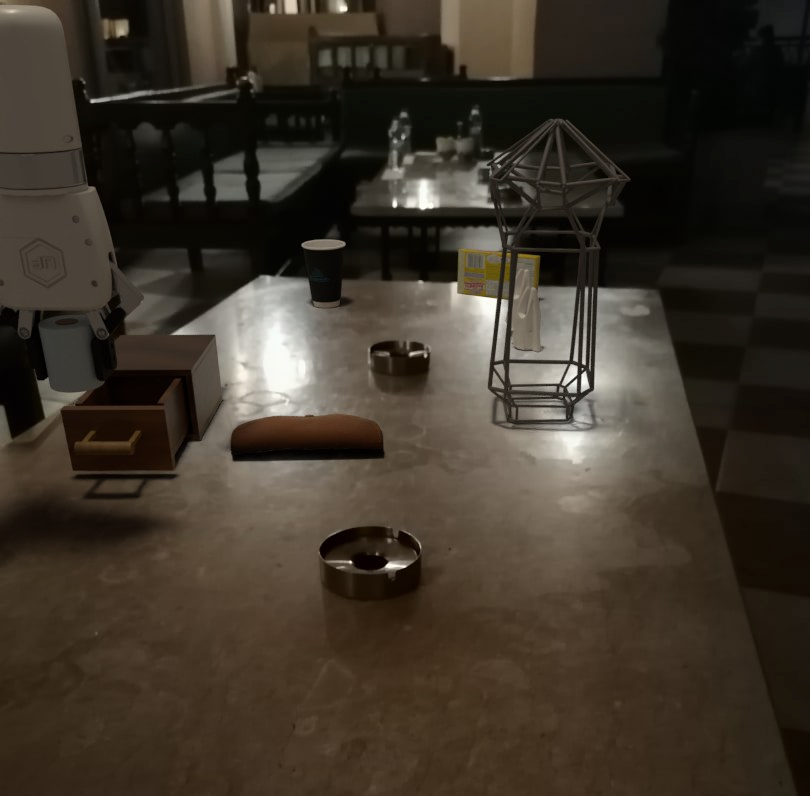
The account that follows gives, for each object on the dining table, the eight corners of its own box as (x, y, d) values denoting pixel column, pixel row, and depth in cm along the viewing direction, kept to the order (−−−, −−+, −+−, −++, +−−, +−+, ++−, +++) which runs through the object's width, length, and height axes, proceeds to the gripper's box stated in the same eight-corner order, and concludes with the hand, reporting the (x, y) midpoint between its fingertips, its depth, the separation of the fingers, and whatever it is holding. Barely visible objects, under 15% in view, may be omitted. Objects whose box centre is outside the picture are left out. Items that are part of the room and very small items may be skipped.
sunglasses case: (383, 426, 114) (382, 391, 108) (384, 472, 110) (384, 439, 104) (239, 429, 113) (230, 395, 107) (236, 476, 110) (227, 443, 104)
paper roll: (42, 392, 85) (29, 328, 82) (60, 375, 89) (49, 313, 86) (95, 393, 84) (84, 329, 82) (111, 375, 89) (101, 314, 86)
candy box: (538, 300, 169) (541, 255, 165) (534, 303, 168) (536, 257, 164) (461, 291, 177) (462, 247, 173) (456, 293, 175) (457, 249, 171)
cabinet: (200, 440, 111) (191, 369, 107) (98, 441, 112) (85, 370, 107) (222, 399, 124) (215, 334, 120) (131, 400, 124) (120, 335, 120)
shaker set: (504, 331, 152) (506, 263, 147) (528, 330, 152) (532, 263, 147) (515, 352, 142) (518, 280, 136) (542, 351, 142) (546, 280, 136)
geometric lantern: (479, 390, 126) (488, 114, 109) (593, 392, 125) (620, 113, 108) (478, 433, 113) (487, 124, 96) (606, 436, 111) (638, 124, 94)
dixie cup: (343, 298, 173) (341, 238, 167) (351, 308, 166) (349, 246, 161) (302, 300, 171) (298, 240, 166) (308, 311, 164) (304, 249, 159)
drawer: (162, 489, 97) (152, 426, 94) (57, 489, 98) (43, 426, 94) (199, 425, 113) (191, 369, 110) (108, 426, 114) (98, 370, 110)
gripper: (-81, 177, 74) (-30, 388, 83) (126, 179, 74) (155, 390, 83) (-40, 166, 81) (3, 363, 90) (150, 167, 81) (174, 364, 90)
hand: (76, 374), depth 86 cm, fingers closed on paper roll, 5 cm apart
